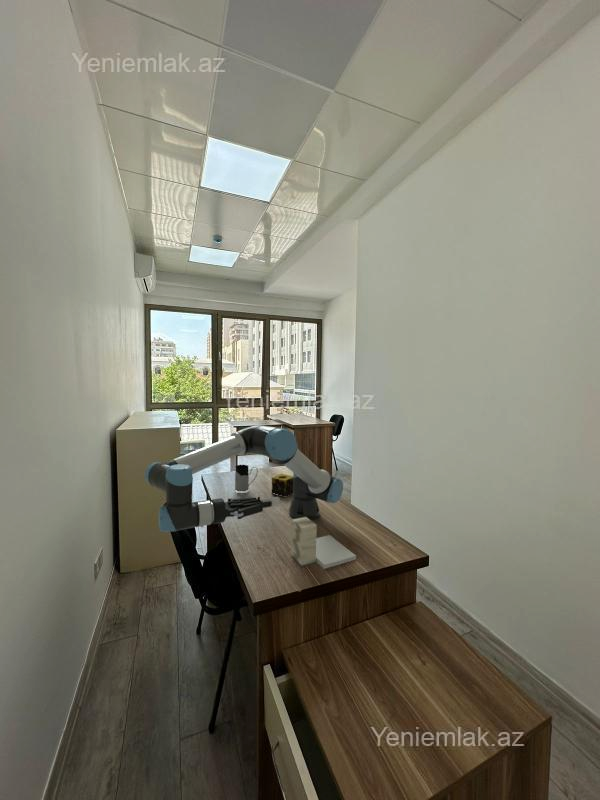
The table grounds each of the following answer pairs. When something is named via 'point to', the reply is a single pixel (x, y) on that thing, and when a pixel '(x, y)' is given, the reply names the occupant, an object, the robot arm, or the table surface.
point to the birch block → (304, 541)
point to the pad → (331, 552)
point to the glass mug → (242, 477)
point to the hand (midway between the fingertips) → (278, 501)
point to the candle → (282, 484)
